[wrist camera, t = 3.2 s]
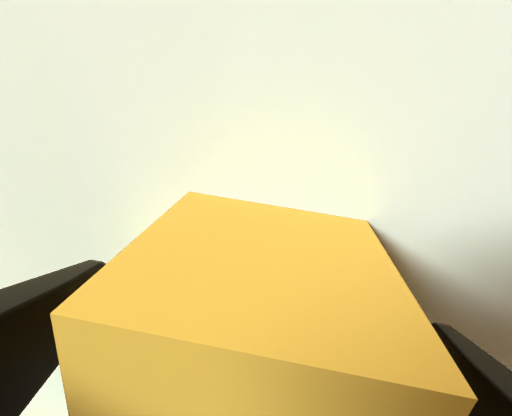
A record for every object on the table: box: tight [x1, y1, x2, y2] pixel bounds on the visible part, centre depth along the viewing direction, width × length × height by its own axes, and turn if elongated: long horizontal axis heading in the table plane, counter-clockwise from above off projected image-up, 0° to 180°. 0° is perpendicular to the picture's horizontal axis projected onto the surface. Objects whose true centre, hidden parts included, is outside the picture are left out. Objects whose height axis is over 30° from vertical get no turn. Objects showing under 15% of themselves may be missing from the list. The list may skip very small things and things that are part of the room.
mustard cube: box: [50, 192, 478, 416], centre depth 6 cm, size 5×5×5 cm
